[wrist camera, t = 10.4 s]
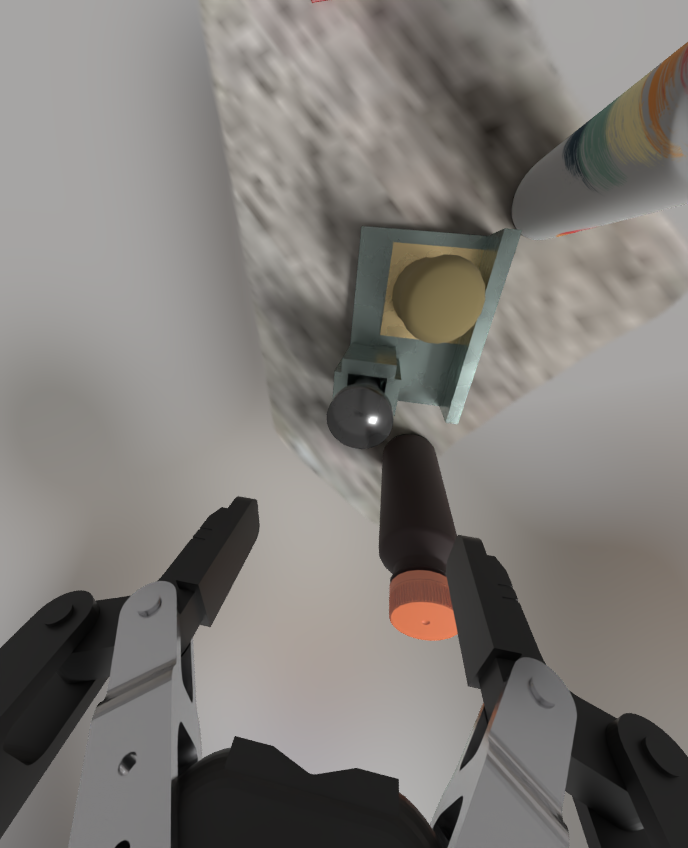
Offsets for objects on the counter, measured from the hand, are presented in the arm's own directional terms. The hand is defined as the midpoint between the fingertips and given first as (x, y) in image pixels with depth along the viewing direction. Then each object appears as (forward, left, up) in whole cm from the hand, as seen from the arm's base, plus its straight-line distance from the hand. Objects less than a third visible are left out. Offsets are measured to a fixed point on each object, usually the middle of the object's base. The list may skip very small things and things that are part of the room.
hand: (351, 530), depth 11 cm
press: (-5, +3, -23) cm, 24 cm away
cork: (-8, +4, -22) cm, 23 cm away
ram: (0, -1, -18) cm, 18 cm away
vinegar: (+11, +6, -23) cm, 26 cm away
